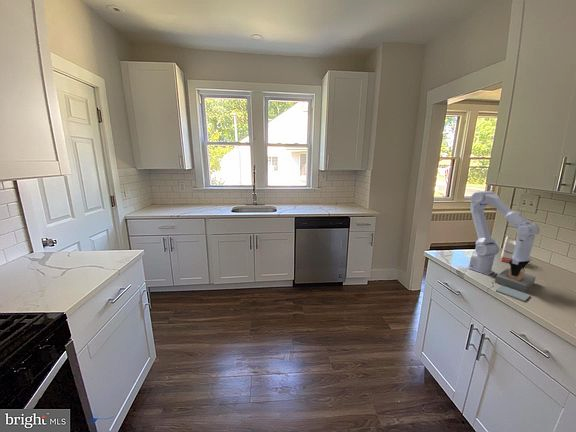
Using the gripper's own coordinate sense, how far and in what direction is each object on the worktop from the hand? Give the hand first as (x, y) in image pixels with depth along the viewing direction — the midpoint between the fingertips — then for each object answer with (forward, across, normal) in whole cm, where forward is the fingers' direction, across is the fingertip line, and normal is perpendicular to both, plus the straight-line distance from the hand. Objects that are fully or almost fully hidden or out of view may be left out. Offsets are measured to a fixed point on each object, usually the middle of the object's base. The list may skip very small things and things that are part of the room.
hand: (516, 274), depth 119 cm
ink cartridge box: (+6, +34, +12) cm, 37 cm away
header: (+5, +2, 0) cm, 6 cm away
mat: (+5, -12, -3) cm, 13 cm away
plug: (+5, 0, 0) cm, 5 cm away
